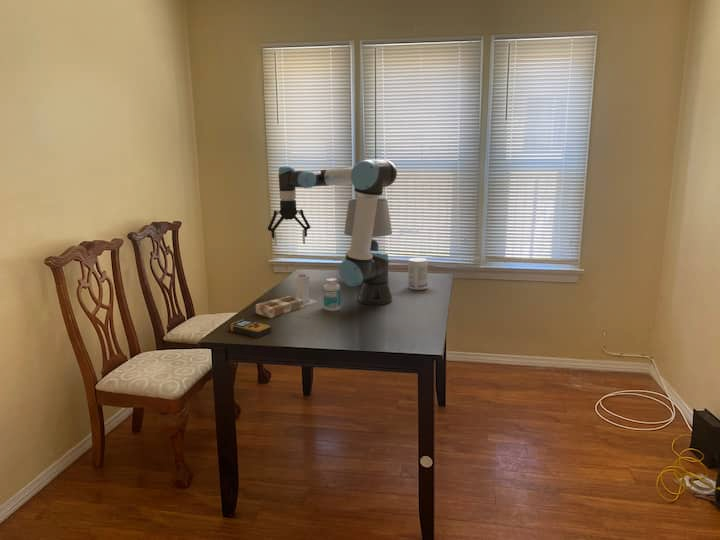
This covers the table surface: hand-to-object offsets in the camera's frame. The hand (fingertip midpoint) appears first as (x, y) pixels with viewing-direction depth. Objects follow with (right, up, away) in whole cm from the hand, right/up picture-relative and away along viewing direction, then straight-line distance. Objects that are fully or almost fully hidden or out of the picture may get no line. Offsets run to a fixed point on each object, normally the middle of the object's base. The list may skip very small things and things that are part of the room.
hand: (289, 244), depth 249 cm
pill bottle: (+22, -30, -22) cm, 43 cm away
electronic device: (-9, -37, -49) cm, 62 cm away
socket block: (-1, -30, -24) cm, 39 cm away
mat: (+8, -27, -12) cm, 31 cm away
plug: (+8, -27, -12) cm, 30 cm away
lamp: (+38, -18, +30) cm, 51 cm away
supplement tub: (+63, -22, +13) cm, 68 cm away
